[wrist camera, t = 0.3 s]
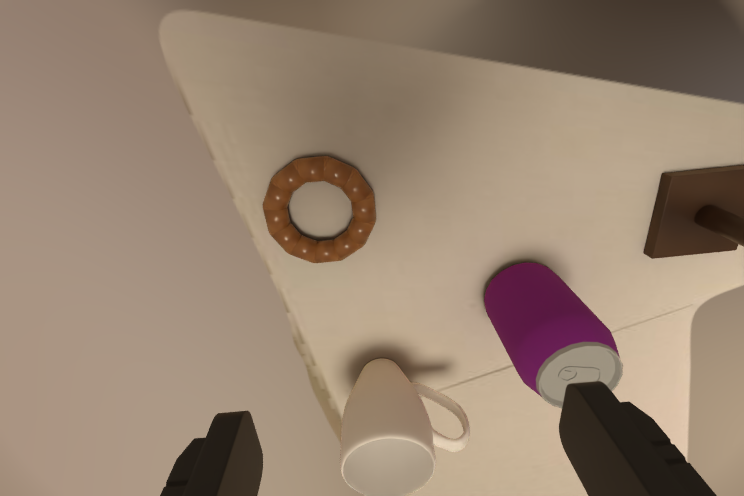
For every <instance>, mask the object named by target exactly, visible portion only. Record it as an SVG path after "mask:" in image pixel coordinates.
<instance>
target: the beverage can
mask: <svg viewBox="0 0 744 496" xmlns="http://www.w3.org/2000/svg"><path fill="white" fill-rule="evenodd" d="M484 302H485V308H486V312H487V314H488V316H489V318H490V320H491V322H492V324H493V326H494V328H495V330H496V332H497V334H498V336H499V337H500V339H501V341H502V343H503V345H504V347H505V349H506V351H507V353H508V355H509V357H510V359H511V361H512V363H513V364H514V366H515V368H516V370H517V372H518V374H519V376H520V377H521V379H522V380H523V382H524V383H525V384H526V385H527V386H529V387H530V388H531V389H532V390H534V391H535V392H536V393H537V394H539V395H540V396H541V397H542V398H543V399H544V400H545V401H547V402H548V403H549V404H551V405H552V406H556V407H559V408H562V407H563V401H564V396H565V390H566V387H567V385H568V384H571V383H582V382H593V381H601V382H603V383H604V384H606V385H607V387H608V388H609V389H610V390H611V392H612V391H613V390H614V389H615V387H616V386H617V385H618V384H619V381H620V379H621V377H622V373H623V364H622V362H621V360H620V357H619V354H618V350H617V347H616V344H615V341H614V338H613V336H612V334H611V332H610V330H609V329H608V328H607V327H606V326H605V325H604V324H603V323H602V322H601V321H600V320H599V319H598V318H597V316H596V315H595V314H594V313H593V312H592V311H591V310H590V309H589V308H588V307H587V306H586V305H585V304H584V303H583V302H582V301H581V300H580V298H579V297H578V296H577V295H576V294H575V293H574V292H573V291H572V290H571V289H570V288H569V287H568V286H567V285H566V284H565V283H564V282H563V280H562V279H561V278H560V277H559V276H558V275H556V274H555V273H554V272H553V271H552V270H550V269H549V268H548V267H546V266H543V265H541V264H538V263H520V264H516V265H512V266H510V267H508V268H507V269H505V270H503V271H501V272H500V273H499V274H498V275H497V276H496V277H495V278H493V279H492V281H491V282H490V284H489V286H488V287H487V289H486V293H485V298H484Z"/></svg>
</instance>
